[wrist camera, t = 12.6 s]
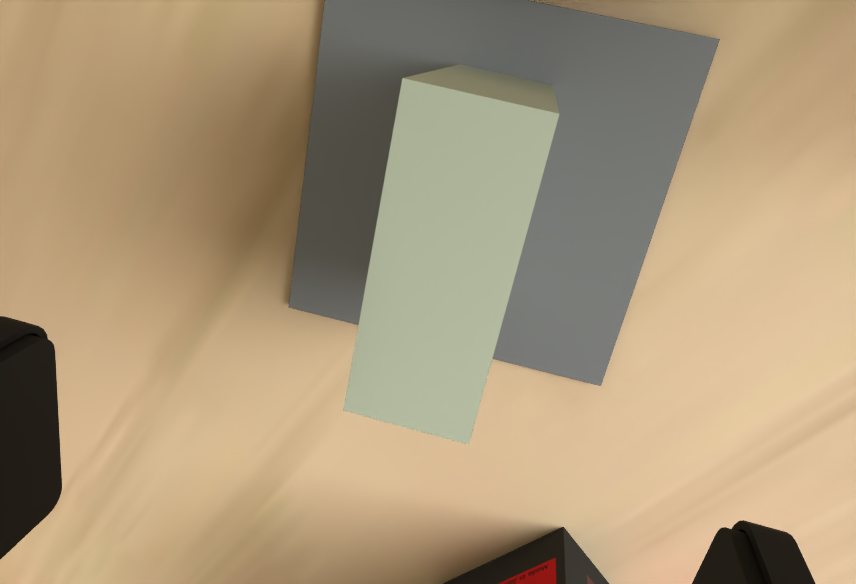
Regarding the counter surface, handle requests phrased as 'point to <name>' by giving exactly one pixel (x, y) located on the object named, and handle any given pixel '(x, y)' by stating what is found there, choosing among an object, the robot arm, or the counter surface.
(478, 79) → the sage green brick
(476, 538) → the counter surface
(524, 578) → the cleaning product box
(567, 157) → the mat
